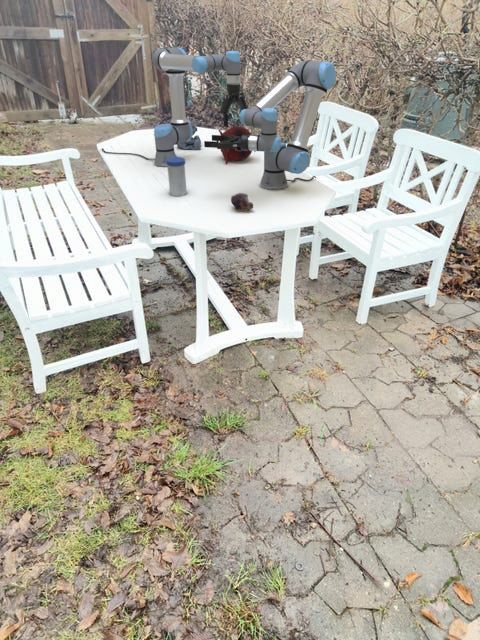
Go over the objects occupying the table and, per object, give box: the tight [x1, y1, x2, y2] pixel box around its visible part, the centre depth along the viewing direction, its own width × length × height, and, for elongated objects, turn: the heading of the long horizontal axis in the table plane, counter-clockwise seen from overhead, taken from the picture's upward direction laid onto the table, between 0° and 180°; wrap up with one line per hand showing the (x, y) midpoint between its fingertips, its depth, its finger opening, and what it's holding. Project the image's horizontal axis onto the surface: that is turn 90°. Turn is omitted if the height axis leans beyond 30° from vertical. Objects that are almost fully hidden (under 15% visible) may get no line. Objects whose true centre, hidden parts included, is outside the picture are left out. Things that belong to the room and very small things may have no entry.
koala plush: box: [176, 117, 202, 151], centre depth 323 cm, size 17×18×20 cm
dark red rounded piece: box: [218, 126, 253, 165], centre depth 296 cm, size 21×24×25 cm
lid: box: [166, 156, 186, 166], centre depth 236 cm, size 10×10×2 cm
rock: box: [230, 192, 254, 211], centre depth 223 cm, size 12×9×10 cm
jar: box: [166, 163, 188, 197], centre depth 241 cm, size 9×9×18 cm
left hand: (234, 125), depth 259 cm, fingers open, 13 cm apart
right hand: (208, 140), depth 227 cm, fingers open, 13 cm apart
